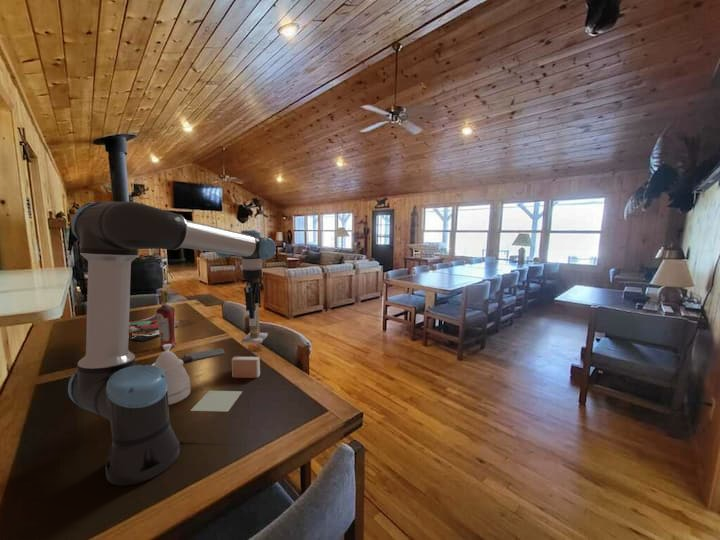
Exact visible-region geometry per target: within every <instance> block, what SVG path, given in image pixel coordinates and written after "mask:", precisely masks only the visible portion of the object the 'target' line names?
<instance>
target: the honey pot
mask: <svg viewBox="0 0 720 540" xmlns="http://www.w3.org/2000/svg"><path fill="white" fill-rule="evenodd" d="M171 346H172V344H165V345H163V349H162V350H164V351H162V352H161V353H160V354H159V355H158V357H157V359H156V360H155V361H154V362H155V363H154V364H152V365H153V366H156V367H159V368H160V369H162V370H163V371H164V373H165V375H166V380H167V383H168V389H167V392H168V406H169V405H173V404H176V403H178V402H181V401H183V400H184V399H186V398H187V397H188V396H189V395H190V394H191V379H190V376H189V375H188V372H187V369H186V368H185V366H183V365H184V364H185V363H184V362H183V360H181V358H178V356H177V355H176V353H174V352H173V351H171V349H172V348H171Z"/></svg>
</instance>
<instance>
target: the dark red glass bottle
mask: <svg viewBox="0 0 720 540" xmlns="http://www.w3.org/2000/svg"><path fill="white" fill-rule="evenodd" d="M168 292H169V291H168V290H167V289H162V290H160V295H161V305H160V306H161V307H158V308H157V309H156V310H155V311H156V315H157V321H158V323H157V324H158V327H159V329H158V330H159V335H160V336H159V343H160V344H159V348H160V349H162V350H164V349H163V345H165V344H172V346H171V349H173V348H174V347H175V346H176V345H177V342H176V334H175V333H176V329H175V326H176V324H175V321H176V315H175V314H176V312H175V310H176V309H175V308H174V307H173V306H170V304H169V299H168V295H169V294H168Z"/></svg>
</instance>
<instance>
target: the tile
mask: <svg viewBox="0 0 720 540" xmlns="http://www.w3.org/2000/svg"><path fill="white" fill-rule="evenodd" d="M231 374H232V375H231V376H232V378H238V379H239V378H241V379H244V378H246V379H248V378H249V379H257V378H259V377H260V376H261V361H260V356H238V355H237V356H236V355H235V356H233V357H232V358H231Z"/></svg>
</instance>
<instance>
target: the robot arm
mask: <svg viewBox="0 0 720 540" xmlns="http://www.w3.org/2000/svg"><path fill="white" fill-rule="evenodd" d="M70 226H71V230H72V234H73V236H74V237H75V238H76V239H77V240H78V241H79V242H80V244H79V255H81V256H82V257H83V258H84V259H85V260H86V261H87V299H86V301H87V302H86V339H85V344H86V345H85V355H84V356H82V358H80V360H78V362H77V366H76V367H77V370H75V371H76V372H75V373H73V374H72V375H71V376H70V379H69V382H68V384H67V385H68V386H67V393H68V396H69V399H71V401H72V402H73V403H74V404H76V405H77V406H78V408H81V409H83V410H85V411H88V412H91V413H94V414H95V415H98V416H100V417H102V418H104V419H106V420H108V421H109V423H110V430H111V439H112V443H111V447H110V449H109V453H108V456H107V459H106V463H105V476H106V477H105V478H106V480H107V481H108V482H109V483H110V484H112V485H115V486H131V485H132V486H133V485H137V484H141V483H144V482H145V481H149V480H151V479H153V478H155V477H157V476H159V475H160V474H162V473H163V472H164V471H166V470H168V469H169V468H170V467H171V466H172V465H173V464H174V463H175V462H176V461H177V459H178V457H179V455H180V452H181V449H180V441H179V438H178V437H177V435H176V434H175V432H174V430H173V428H172V426H171V423H170V422H171V421H170V411H169V410H170V408H169V405H168V392H167V389H168V383H167V380H166V375H165V373H164V371H163V370H162V369H160V368H159V367H156V366H153V365H151V364H145V365H142V364H137V365H135V364H136V356H135V354H134V353H133V352H132V351H130V350H129V340H130V339H129V322H130V309H131V307H130V305H131V304H130V303H131V301H130V300H131V274H132V272H131V270H132V269H131V268H132V267H131V266H132V262H133V261H135V259H137V258H138V257H139V250H149V249H151V250H152V249H153V250H158V249H159V250H171V251H176V250H179V249H180V248H181V249H182V248H183V249H190V250H197V251H203V252H211V253H215V254H216V255H217V256H218V257H219V258H230V257H232V258H233V257H235V258H241V269H242V279H244V280H246V287H243V291H244V300H245V311H247V312H248V323H249V325H248V326H249V327H250V326H256V310H255V303H259V308H261V307H262V305H261V304H262V303H261V299H262V297H261V294H262V293H261V291H262V290H261V287H262V282H261V281H259V279H262V278H263V268H262V267H263V265H262V264H263V260H269V259H272V258H273V257H274V256H275V254H276V250H277V247H276V243H275V241H274V239H272V238H269V237H265V236H263V237H262V236H261V232H260V231H259V230H254V229H253V230H249V229H248V230H241V231H240V232H238V231H235V230H234V231H233V230H230V229H225V228H221V227H217V226H213V225H210V224H209V225H208V224H205V223H200V222H196V221H192V220H188V219H185V217H184V216H183V215H181V214H179V213H177V212H176V213H175V212H172V211H168V210H164V209H162V208H158V207H154V206H152V205H148V204H145V203H140V202H135V201H96V202H92V203H88V204H85V205H84V206H82V207H81V208H79V209H78V210H77V211H76V212H75V213H74V214H73V216H72V219H71V223H70Z"/></svg>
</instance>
